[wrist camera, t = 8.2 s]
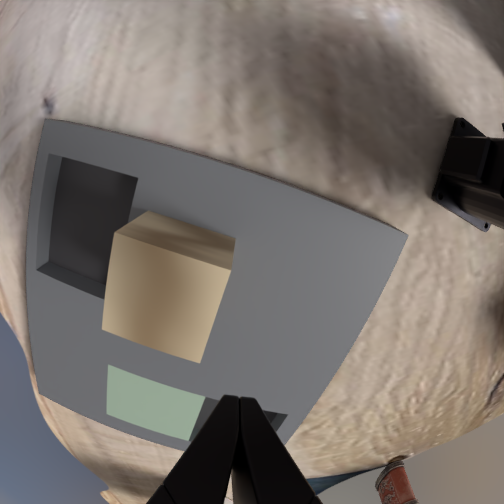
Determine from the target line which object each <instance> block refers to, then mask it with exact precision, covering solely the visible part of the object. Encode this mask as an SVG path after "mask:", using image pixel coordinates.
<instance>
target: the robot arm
mask: <svg viewBox="0 0 504 504" xmlns="http://www.w3.org/2000/svg"><path fill="white" fill-rule="evenodd" d="M460 122H461V124H462V127H461V126H460ZM502 127H503V131H504V123H502ZM439 193H440V198H439V199H438V194H439ZM432 199H433V201H434V202H436V203H438V204H439V205H441V206H443V207H444V208H446V209H448V210H450V211H451V212H453V213H455V214H456V215H458V216H459V217H461V218H463V219H464V220H466V221H467V222H469V223H471V224H472V225H474V226H475V227H477V228H478V229H480V230H482V231H484V232H487V231H488V230H489V228H490V225H491V224H493V225H495V226H497V227H500V228H502V229H504V138H490V137H486V136H485V135H484V134H483V133H481V132H480V131H479V130H478V129H477V128H475V127H474V126H473V125H472V124H470V123H469V122H468V121H467V120H465V119H464V118H456V119H455V121H454V125H453V129H452V133H451V136H450V138H449V141H448V144H447V148H446V151H445V154H444V158H443V161H442V164H441V167H440V172H439V175H438V178H437V181H436V184H435V187H434V190H433V192H432ZM484 224H485V226H484ZM230 475H231V478H232V492H233V504H323V503H322V502H321V500H320V499H319V498H318V496H315V492H314V490H313V489H312V488H311V486H310V485H309V483H308V482H307V480H306V479H305V477H304V476H303V474H302V473H301V471H300V469H299V468H298V466H297V465H296V463H295V462H294V460H293V459H292V457H291V456H290V454H289V452H288V451H287V449H286V448H285V446H284V444H283V443H282V441H281V440H280V438H279V436H278V435H277V433H276V431H275V430H274V428H273V427H272V425H271V423H270V422H269V420H268V418H267V417H266V415H265V413H264V411H263V410H262V408H261V406H260V405H259V403H258V401H257V400H256V399H255V398H253V397H244V396H241V397H240V398H239V397H238V396H235V395H227V394H224V395H223V396H222V397H221V399H220V400H219V402H218V403H217V405H216V406H215V408H214V409H213V411H212V412H211V414H210V415H209V417H208V418H207V420H206V421H205V423H204V424H203V426H202V427H201V429H200V430H199V432H198V433H197V435H196V436H195V438H194V439H193V440H192V442H191V443H190V445H189V446H188V448H187V449H186V450H185V452H184V453H183V455H182V456H181V458H180V459H179V460H178V462H177V463H176V465H175V466H174V467H173V469H172V470H171V472H170V473H169V474H168V476H167V477H166V478H165V480H164V481H163V485H160V486H159V488H158V489H157V490H156V492H155V493H154V494H153V496H152V497H151V498H150V499H149V500H148V502H147V503H146V504H224V501H225V497H226V492H227V488H228V484H229V479H230Z"/></svg>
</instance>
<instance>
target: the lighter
mask: <svg viewBox="0 0 504 504" xmlns="http://www.w3.org/2000/svg"><path fill="white" fill-rule="evenodd" d="M404 468H405V466H404V463H403V461H396V462H394V463H391V464H389V465H388V466H387V467H385V469H384V470H383V471H382V472H381V474H380V475H379V477H378V479H377V481H376V485H375V487H376V490H377V491H378V492H379V495H380V498H381V502H382V504H419V502H418V499H416V498H415V496H414V493H413V490H412V488H411V485H410V483H409V480H408V477H407V475H406V472H405V470H404Z"/></svg>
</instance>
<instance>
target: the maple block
mask: <svg viewBox="0 0 504 504" xmlns="http://www.w3.org/2000/svg"><path fill="white" fill-rule="evenodd" d="M235 241H236V239H235V238H232V237H229V236H226V235H223V234H220V233H217V232H214V231H211V230H208V229H204V228H201V227H198V226H195V225H192V224H189V223H186V222H183V221H180V220H176V219H173V218H170V217H167V216H164V215H161V214H158V213H154V212H151V211H147V212H145V213H144V214H142V215H140V216H139V217H137V218H136V219H134V220H132V221H131V222H129V223H128V224H126V225H125V226H123V227H122V228H120V229H119V230H117V231H116V232H114V238H113V244H112V249H111V256H110V262H109V269H108V276H107V283H106V291H105V300H104V310H103V321H102V330H105V331H107V332H110V333H112V334H115V335H117V336H120V337H122V338H125V339H128V340H130V341H133V342H136V343H139V344H141V345H144V346H147V347H150V348H153V349H156V350H159V351H162V352H165V353H168V354H171V355H174V356H177V357H180V358H183V359H187V360H190V361H193V362H197V363H200V362H201V359H202V356H203V353H204V350H205V347H206V344H207V341H208V338H209V335H210V332H211V329H212V326H213V323H214V320H215V317H216V314H217V311H218V308H219V305H220V302H221V299H222V296H223V293H224V290H225V287H226V284H227V282H228V279H229V276H230V273H231V269H232V262H233V255H234V248H235Z"/></svg>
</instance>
